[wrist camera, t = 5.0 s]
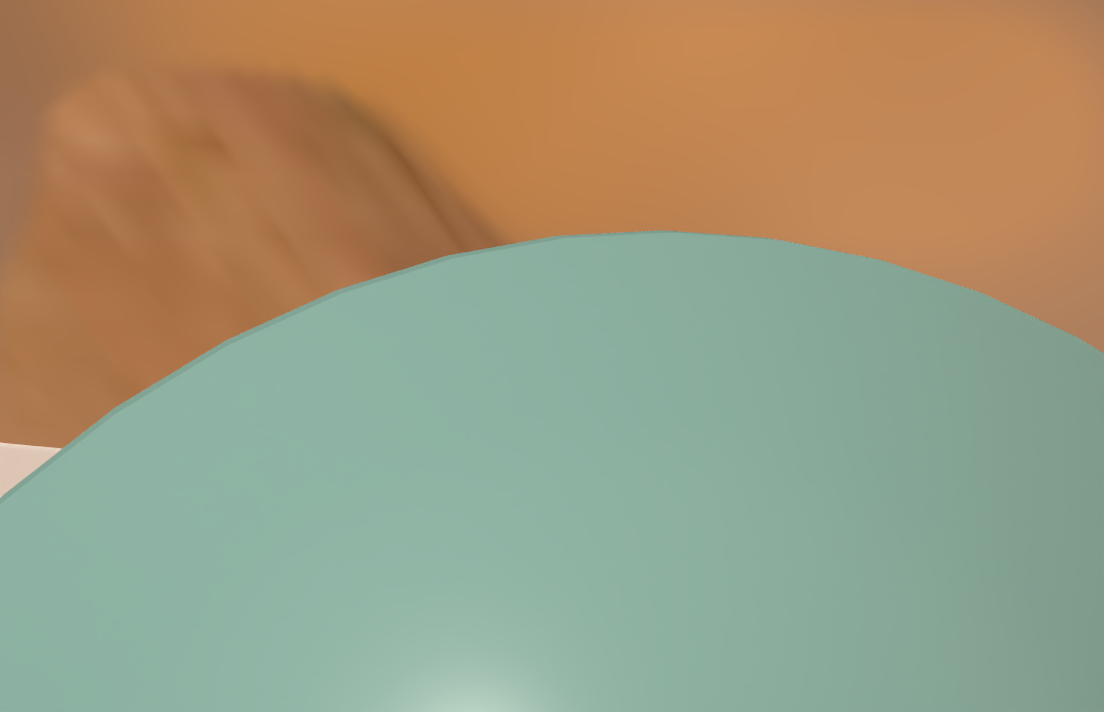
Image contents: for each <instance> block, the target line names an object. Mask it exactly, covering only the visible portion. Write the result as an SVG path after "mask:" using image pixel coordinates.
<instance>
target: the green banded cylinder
mask: <svg viewBox="0 0 1104 712" xmlns="http://www.w3.org/2000/svg"><path fill="white" fill-rule="evenodd" d="M0 712H1104V353H1102V352H1101V351H1098V350H1097V349H1096V348H1094V347H1092V346H1091V345H1089V344H1087V343H1086V342H1084V341H1082V340H1081V339H1079V338H1077V337H1076V336H1074V335H1071V334H1069V333H1067V332H1065V331H1063V330H1060V329H1058V328H1056V327H1054V326H1052V325H1050V324H1047V323H1045V322H1043V321H1041V320H1039V319H1037V318H1034V317H1032V316H1030V315H1028V314H1026V313H1024V312H1021V311H1019V310H1017V309H1015V308H1013V307H1011V306H1008V305H1006V304H1004V303H1002V302H1000V301H998V300H995V299H993V298H991V297H989V296H987V295H984V294H982V293H980V292H977V291H974V290H971V289H968V288H965V287H962V286H959V285H955V284H953V283H950V282H946V281H943V280H940V279H937V278H934V277H931V276H928V275H925V274H922V273H919V272H916V271H913V270H910V269H907V268H903V267H900V266H897V265H894V264H891V263H888V262H885V261H882V260H877V259H873V258H867V257H862V256H857V255H852V254H847V253H842V252H837V251H832V250H827V249H822V248H816V247H812V246H806V245H801V244H796V243H791V242H786V241H781V240H774V239H769V238H761V237H747V236H733V235H718V234H704V233H690V232H677V231H662V230H661V231H643V232H623V233H606V234H587V235H568V236H554V237H548V238H542V239H537V240H531V241H526V242H520V243H515V244H509V245H504V246H498V247H493V248H487V249H482V250H476V251H471V252H465V253H459V254H454V255H448V256H445V257H441V258H438V259H435V260H432V261H429V262H425V263H422V264H419V265H416V266H413V267H409V268H406V269H403V270H400V271H397V272H393V273H390V274H387V275H384V276H381V277H377V278H374V279H371V280H368V281H365V282H361V283H358V284H355V285H352V286H349V287H345V288H342V289H339V290H336V291H334V292H332V293H330V294H327V295H325V296H323V297H321V298H318V299H316V300H314V301H312V302H310V303H307V304H305V305H303V306H301V307H299V308H296V309H294V310H292V311H290V312H288V313H285V314H283V315H281V316H279V317H277V318H274V319H272V320H270V321H268V322H266V323H263V324H261V325H259V326H257V327H255V328H252V329H250V330H248V331H246V332H243V333H241V334H239V335H237V336H235V337H232V338H230V339H228V340H226V341H224V342H222V343H221V344H219V345H218V346H216V347H214V348H213V349H211V350H209V351H208V352H206V353H204V354H203V355H201V356H199V357H198V358H196V359H194V360H193V361H191V362H190V363H188V364H186V365H185V366H183V367H181V368H180V369H178V370H176V371H175V372H173V373H171V374H170V375H168V376H166V377H165V378H163V379H162V380H160V381H158V382H157V383H155V384H153V385H152V386H150V387H148V388H147V389H145V390H143V391H142V392H140V393H138V394H137V395H135V396H134V397H132V398H130V399H129V400H127V401H125V402H124V403H122V404H120V405H119V406H117V407H115V408H114V409H113V410H111V411H110V412H109V413H108V414H106V415H105V416H104V417H102V418H101V419H100V420H99V421H97V422H96V423H95V424H93V425H92V426H91V427H90V428H88V429H87V430H86V431H84V432H83V433H82V434H81V435H79V436H78V437H77V438H76V439H74V440H73V441H72V442H70V443H69V444H68V445H67V446H65V447H64V448H63V449H61V450H60V451H59V452H58V453H56V454H55V455H54V456H52V457H51V458H50V459H49V460H47V461H46V462H45V463H43V464H42V465H41V466H40V467H38V468H37V469H36V470H35V471H33V472H32V473H31V474H29V475H28V476H27V477H26V478H24V479H23V480H22V481H20V482H19V483H18V484H17V485H15V486H14V487H13V488H11V489H10V490H9V491H8V492H6V493H5V494H4V495H3V496H2V497H1V498H0Z"/></svg>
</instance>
